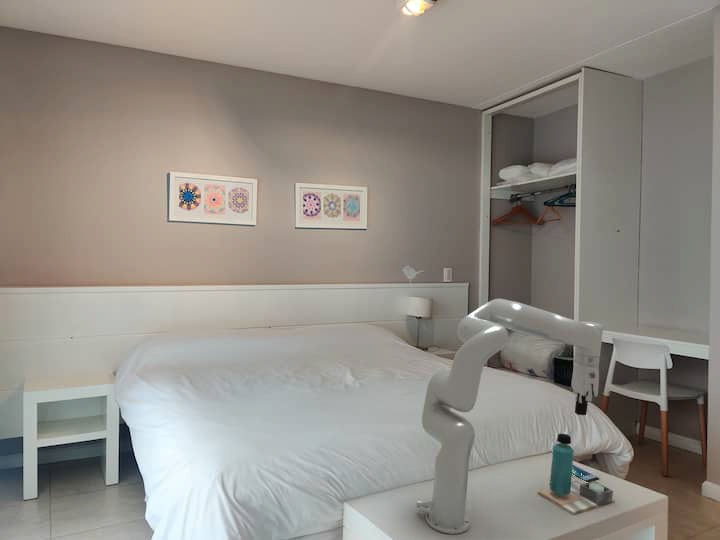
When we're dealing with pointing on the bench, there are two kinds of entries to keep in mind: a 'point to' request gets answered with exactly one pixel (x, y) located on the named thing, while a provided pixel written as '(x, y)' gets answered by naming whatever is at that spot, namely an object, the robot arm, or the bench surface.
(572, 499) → the terracotta square
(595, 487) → the button
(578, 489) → the wooden tray
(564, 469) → the beverage bottle
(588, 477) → the smartphone
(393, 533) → the bench surface
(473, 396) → the robot arm
